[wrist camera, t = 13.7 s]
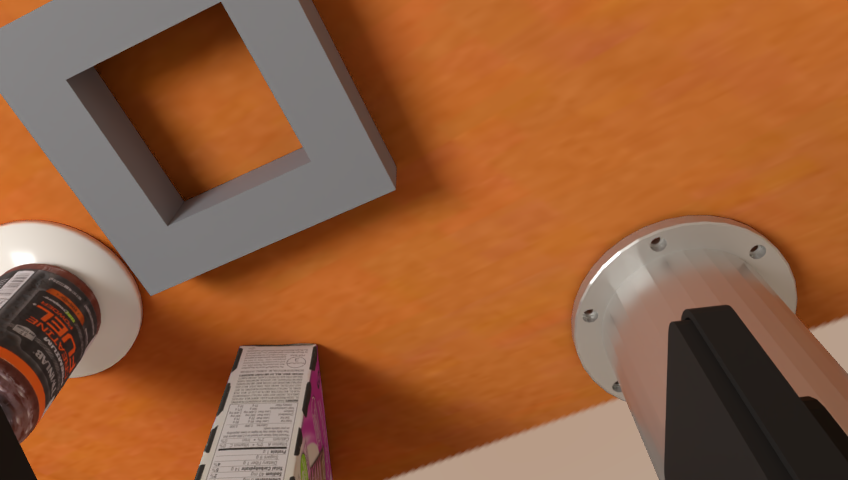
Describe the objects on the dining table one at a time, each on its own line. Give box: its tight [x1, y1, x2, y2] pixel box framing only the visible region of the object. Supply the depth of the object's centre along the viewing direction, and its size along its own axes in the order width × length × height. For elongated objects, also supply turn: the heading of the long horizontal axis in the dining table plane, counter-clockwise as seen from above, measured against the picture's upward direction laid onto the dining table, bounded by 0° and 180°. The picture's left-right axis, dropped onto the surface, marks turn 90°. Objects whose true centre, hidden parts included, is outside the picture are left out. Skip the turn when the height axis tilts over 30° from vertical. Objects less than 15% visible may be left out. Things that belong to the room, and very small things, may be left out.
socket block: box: [0, 0, 397, 296], centre depth 34 cm, size 14×14×3 cm
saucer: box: [0, 220, 143, 378], centre depth 40 cm, size 10×10×1 cm
